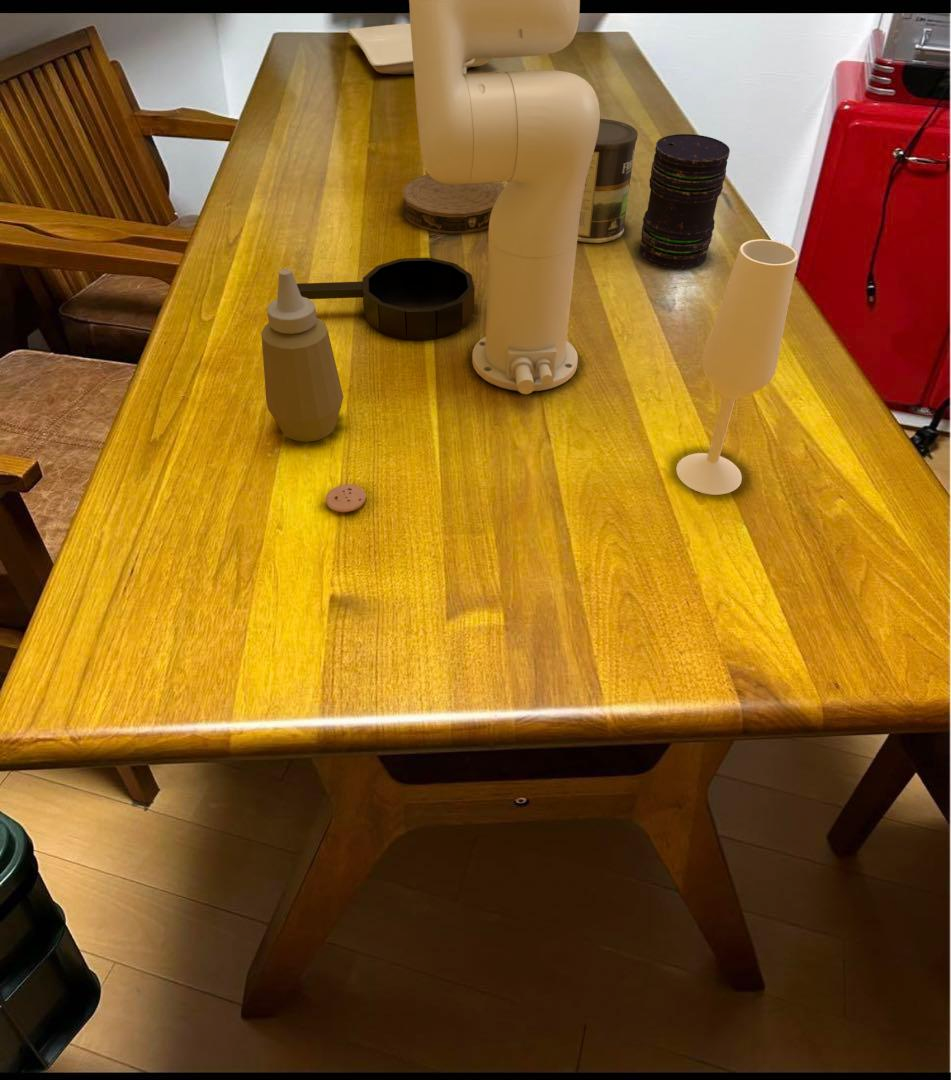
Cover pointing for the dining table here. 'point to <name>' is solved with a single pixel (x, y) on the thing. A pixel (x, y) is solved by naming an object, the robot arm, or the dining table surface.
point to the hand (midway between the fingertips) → (449, 174)
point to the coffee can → (607, 183)
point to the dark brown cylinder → (683, 200)
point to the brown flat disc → (449, 205)
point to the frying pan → (408, 297)
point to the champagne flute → (742, 350)
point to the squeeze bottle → (299, 366)
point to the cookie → (345, 498)
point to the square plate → (391, 48)
